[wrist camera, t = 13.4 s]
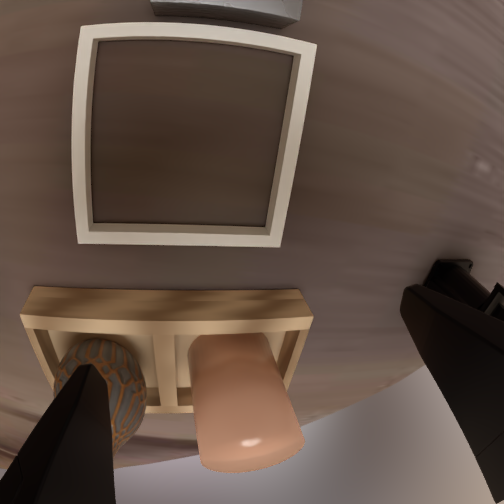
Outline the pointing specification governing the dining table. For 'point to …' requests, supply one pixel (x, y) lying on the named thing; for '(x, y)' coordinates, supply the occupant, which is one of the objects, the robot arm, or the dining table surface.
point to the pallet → (163, 329)
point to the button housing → (234, 10)
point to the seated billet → (240, 404)
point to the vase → (111, 383)
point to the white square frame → (176, 232)
